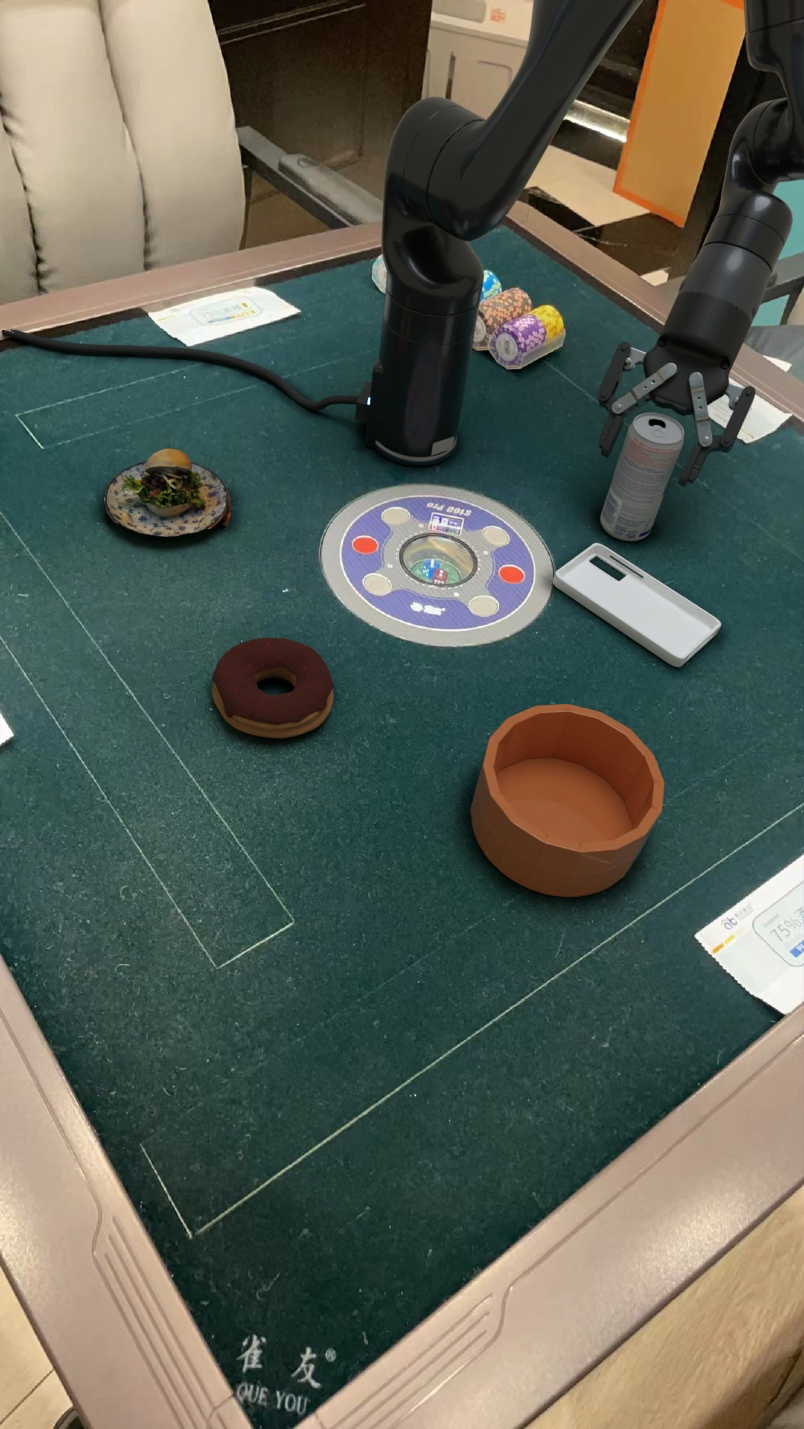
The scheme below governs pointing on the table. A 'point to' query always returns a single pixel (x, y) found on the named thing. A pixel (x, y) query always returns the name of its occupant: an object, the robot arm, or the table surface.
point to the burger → (167, 496)
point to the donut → (272, 712)
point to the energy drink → (641, 476)
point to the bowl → (565, 799)
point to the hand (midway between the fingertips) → (642, 469)
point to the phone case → (638, 605)
